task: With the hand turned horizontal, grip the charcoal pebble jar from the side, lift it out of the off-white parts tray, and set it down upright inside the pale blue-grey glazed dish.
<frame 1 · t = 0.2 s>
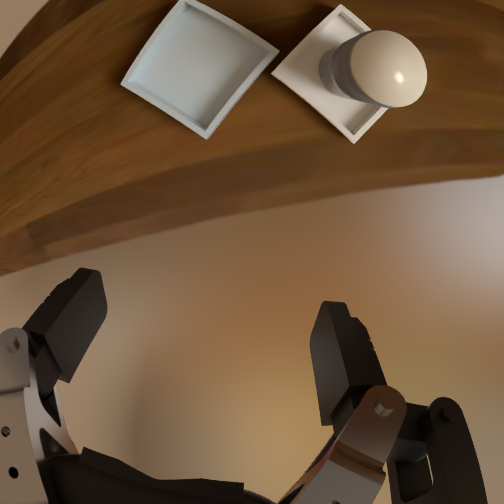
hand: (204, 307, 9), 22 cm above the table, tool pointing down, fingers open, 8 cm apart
glazed dish: (199, 64, 23), on the table
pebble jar: (346, 72, 22), point 1 cm above the table, touching parts tray
parts tray: (344, 72, 22), on the table
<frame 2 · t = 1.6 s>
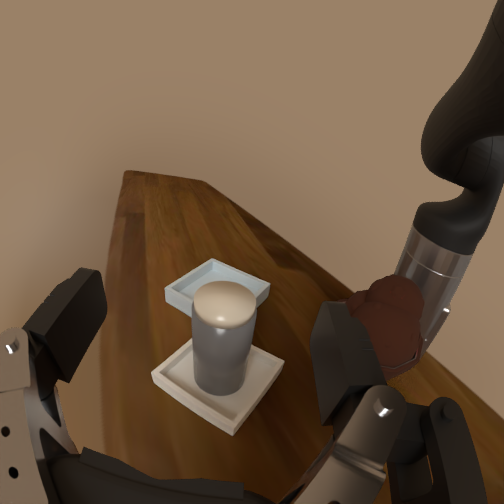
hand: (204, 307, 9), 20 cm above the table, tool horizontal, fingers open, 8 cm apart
glazed dish: (218, 299, 41), on the table
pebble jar: (219, 375, 28), point 1 cm above the table, touching parts tray
ice cream bowl: (345, 385, 30), on the table
parts tray: (219, 379, 29), on the table
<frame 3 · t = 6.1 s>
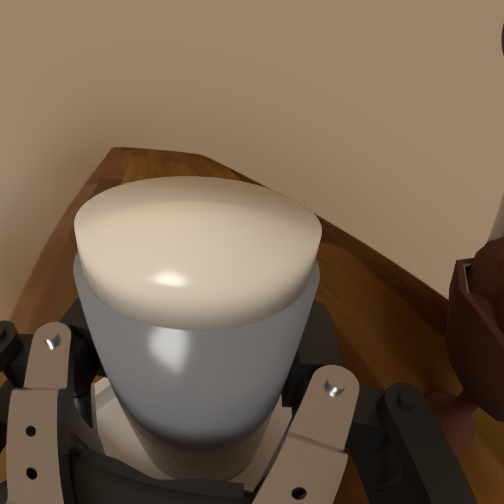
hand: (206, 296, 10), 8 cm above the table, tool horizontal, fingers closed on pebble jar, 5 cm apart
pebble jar: (199, 434, 11), point 1 cm above the table, touching gripper, parts tray
ice cream bowl: (441, 427, 12), on the table
parts tray: (199, 440, 11), on the table
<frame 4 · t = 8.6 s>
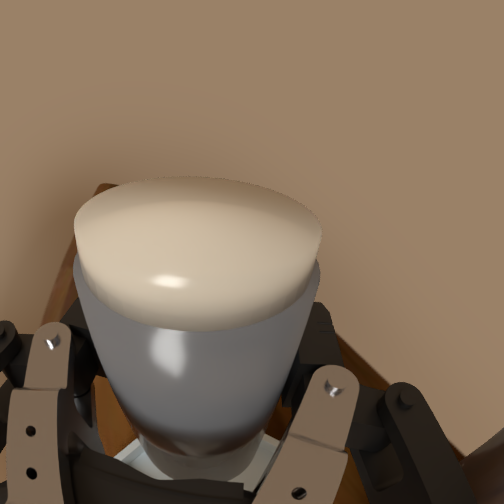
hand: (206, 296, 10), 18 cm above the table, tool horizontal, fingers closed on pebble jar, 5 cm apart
glazed dish: (204, 475, 17), on the table
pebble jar: (199, 434, 11), point 11 cm above the table, touching gripper
when the fingers open (9 cm above the table, at t = 11.3 s): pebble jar drops 1 cm, resting on glazed dish.
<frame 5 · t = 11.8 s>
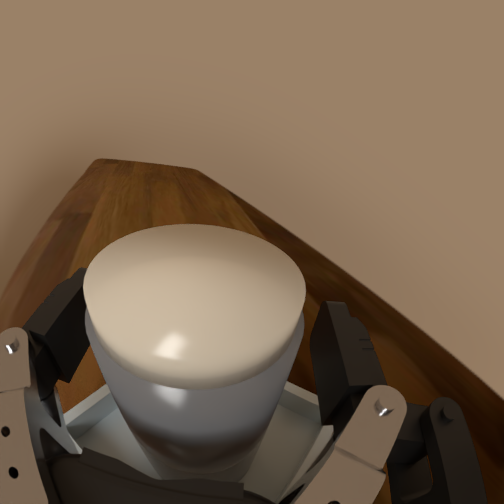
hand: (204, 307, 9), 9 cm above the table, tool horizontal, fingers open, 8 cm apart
glazed dish: (200, 449, 12), on the table
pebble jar: (199, 446, 12), point 1 cm above the table, touching glazed dish
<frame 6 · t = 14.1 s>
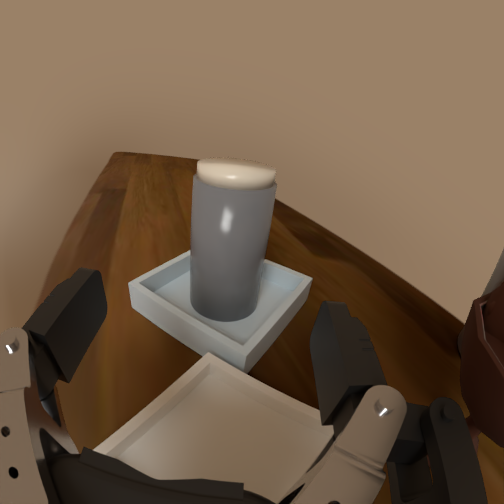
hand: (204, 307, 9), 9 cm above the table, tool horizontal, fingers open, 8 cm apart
glazed dish: (223, 305, 24), on the table
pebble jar: (223, 299, 23), point 1 cm above the table, touching glazed dish
ice cream bowl: (448, 445, 12), on the table
parts tray: (228, 472, 11), on the table
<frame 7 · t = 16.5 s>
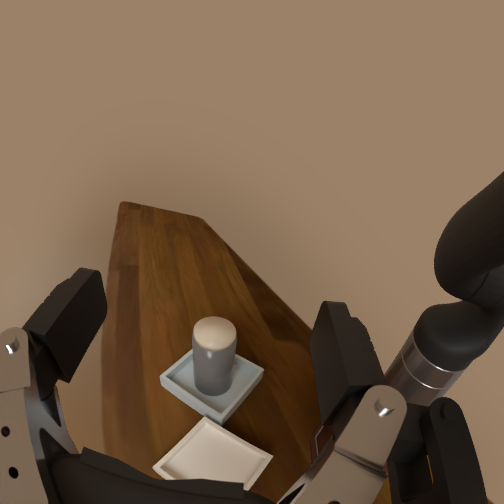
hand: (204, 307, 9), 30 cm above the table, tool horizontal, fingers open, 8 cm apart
glazed dish: (212, 383, 39), on the table
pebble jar: (212, 381, 38), point 1 cm above the table, touching glazed dish
ice cream bowl: (329, 470, 27), on the table
parts tray: (213, 468, 26), on the table
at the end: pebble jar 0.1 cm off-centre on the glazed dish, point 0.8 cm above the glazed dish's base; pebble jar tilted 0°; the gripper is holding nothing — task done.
